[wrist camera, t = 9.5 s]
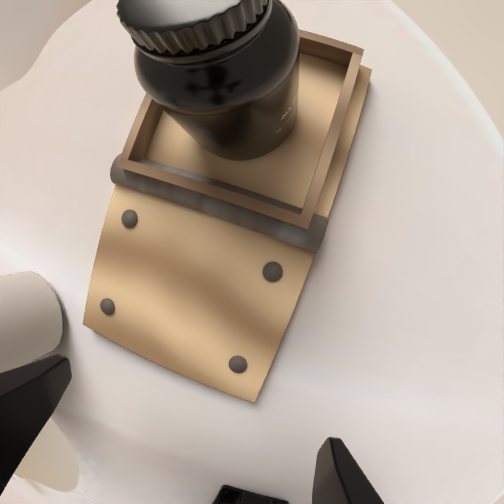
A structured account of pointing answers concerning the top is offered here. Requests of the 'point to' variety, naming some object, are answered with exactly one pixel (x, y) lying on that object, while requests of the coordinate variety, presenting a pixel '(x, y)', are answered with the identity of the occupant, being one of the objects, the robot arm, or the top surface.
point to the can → (27, 319)
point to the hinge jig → (222, 231)
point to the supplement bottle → (219, 69)
